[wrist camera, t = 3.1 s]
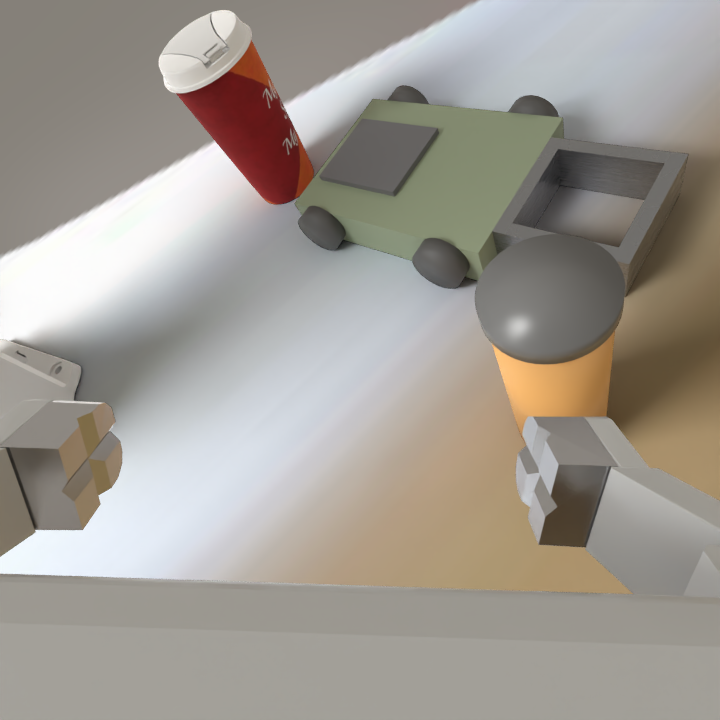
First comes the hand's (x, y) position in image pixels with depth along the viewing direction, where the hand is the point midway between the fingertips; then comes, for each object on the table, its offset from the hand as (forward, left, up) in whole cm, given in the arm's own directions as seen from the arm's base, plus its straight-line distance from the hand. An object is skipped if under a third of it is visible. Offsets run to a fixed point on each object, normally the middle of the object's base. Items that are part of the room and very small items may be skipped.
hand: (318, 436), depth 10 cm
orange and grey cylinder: (0, +10, -23) cm, 25 cm away
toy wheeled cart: (-18, +24, -23) cm, 38 cm away
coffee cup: (-34, +22, -23) cm, 47 cm away
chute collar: (-5, +24, -23) cm, 33 cm away
